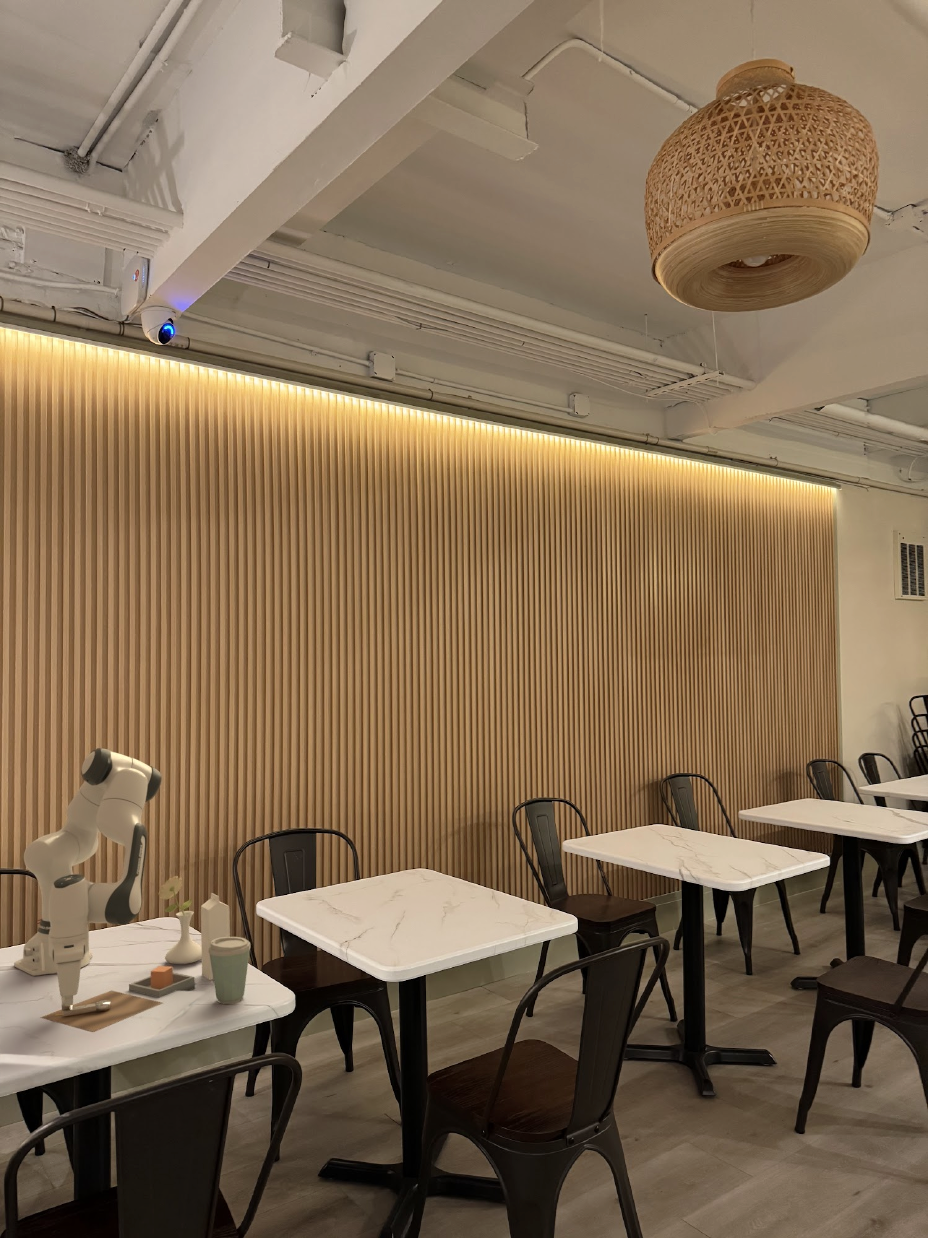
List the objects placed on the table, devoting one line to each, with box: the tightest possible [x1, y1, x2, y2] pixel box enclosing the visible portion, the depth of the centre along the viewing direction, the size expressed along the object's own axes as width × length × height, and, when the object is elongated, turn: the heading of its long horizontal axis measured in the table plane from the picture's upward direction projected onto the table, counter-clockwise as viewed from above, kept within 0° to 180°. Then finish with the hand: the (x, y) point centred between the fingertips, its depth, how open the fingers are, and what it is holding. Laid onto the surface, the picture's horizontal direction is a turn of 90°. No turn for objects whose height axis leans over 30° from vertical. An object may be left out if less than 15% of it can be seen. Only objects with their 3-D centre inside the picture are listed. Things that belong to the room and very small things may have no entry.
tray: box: [128, 972, 196, 998], centre depth 231 cm, size 12×12×3 cm
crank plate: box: [40, 990, 163, 1033], centre depth 215 cm, size 20×20×2 cm
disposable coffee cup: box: [208, 936, 252, 1005], centre depth 224 cm, size 11×11×15 cm
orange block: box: [150, 965, 174, 990], centre depth 231 cm, size 4×4×5 cm
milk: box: [200, 892, 231, 981], centre depth 244 cm, size 6×6×22 cm
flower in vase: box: [158, 875, 202, 965], centre depth 256 cm, size 13×11×25 cm
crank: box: [61, 997, 111, 1016], centre depth 214 cm, size 11×4×6 cm, turn 114°
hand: (69, 1005), depth 210 cm, fingers closed
